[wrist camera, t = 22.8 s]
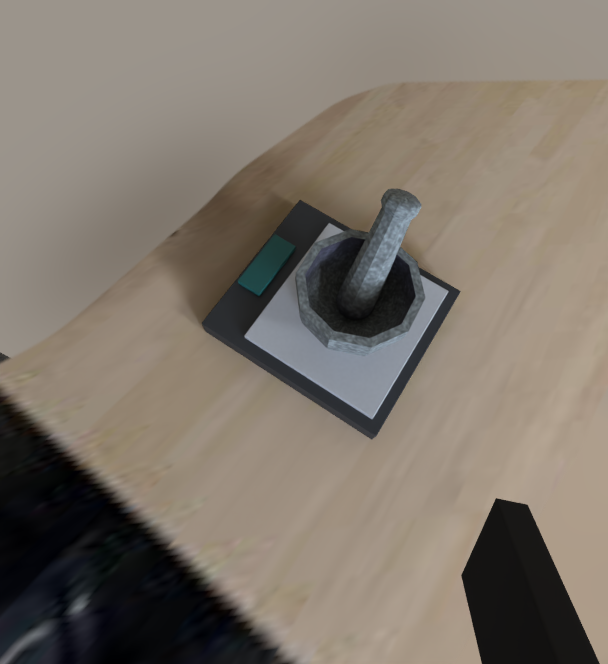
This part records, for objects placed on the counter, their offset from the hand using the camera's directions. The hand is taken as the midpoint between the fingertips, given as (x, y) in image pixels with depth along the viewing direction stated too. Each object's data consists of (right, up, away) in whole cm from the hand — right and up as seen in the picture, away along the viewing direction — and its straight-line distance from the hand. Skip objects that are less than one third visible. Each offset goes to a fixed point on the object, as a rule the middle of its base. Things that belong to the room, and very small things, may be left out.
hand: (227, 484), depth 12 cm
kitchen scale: (+5, +5, +32) cm, 33 cm away
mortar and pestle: (+6, +5, +29) cm, 30 cm away
